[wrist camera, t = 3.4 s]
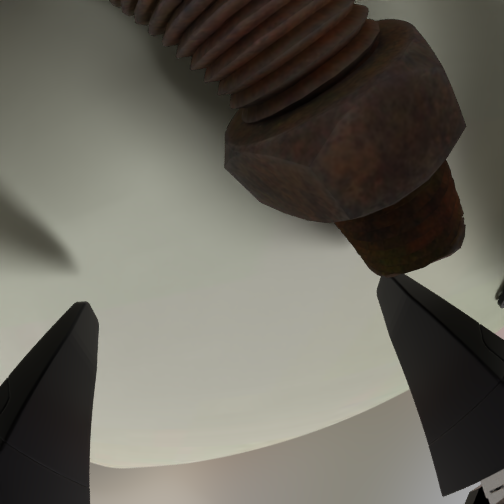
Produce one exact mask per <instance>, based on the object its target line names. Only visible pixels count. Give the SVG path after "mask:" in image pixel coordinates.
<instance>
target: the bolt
mask: <svg viewBox="0 0 504 504" xmlns="http://www.w3.org/2000/svg"><path fill="white" fill-rule="evenodd" d="M109 1H110V2H111V3H112V4H113V5H114V6H116V7H122V12H123V13H124V14H126V15H128V16H132V15H134V16H135V23H137V24H140V25H149V28H148V33H149V34H151V35H153V36H156V35H160V34H164V36H163V39H162V43H163V46H164V47H169V46H173V45H178V49H177V53H176V57H177V58H183V57H189V56H192V61H191V65H190V69H191V70H197V69H203V68H206V72H205V77H204V82H205V83H206V82H213V81H220V82H219V87H218V93H217V94H218V95H225V94H231V99H230V105H229V106H230V107H231V108H232V109H235V108H239V109H238V111H237V112H236V114H235V116H234V117H233V119H232V120H231V122H230V123H229V125H228V127H227V130H226V133H225V161H224V168H225V169H226V170H227V171H228V172H229V173H230V174H231V175H233V176H234V177H235V178H236V179H237V180H238V181H239V182H240V183H241V184H242V185H243V186H244V187H245V188H246V189H247V190H248V191H249V192H250V193H251V194H252V195H253V196H254V197H255V198H256V199H258V200H259V201H260V202H261V203H263V204H265V205H268V206H270V207H272V208H274V209H277V210H279V211H281V212H283V213H286V214H289V215H292V216H296V217H299V218H302V219H305V220H309V221H317V222H324V223H333V222H334V224H335V225H336V226H337V227H338V228H339V229H340V230H341V232H342V233H343V234H344V236H345V237H346V238H347V240H348V241H349V242H350V243H351V244H352V245H353V247H354V248H355V249H356V251H357V253H358V254H359V255H360V256H361V258H362V259H363V260H364V262H365V263H366V265H367V266H368V268H369V269H370V270H371V271H373V272H374V273H375V274H377V275H379V276H384V277H385V278H389V277H395V276H397V275H400V274H405V273H408V272H411V271H414V270H417V269H420V268H424V267H426V266H427V265H429V264H430V263H433V262H435V261H438V260H441V259H443V258H446V257H448V256H451V255H452V254H453V253H455V252H456V251H457V250H459V249H460V248H461V246H462V243H463V240H464V237H465V226H466V225H464V217H462V216H463V214H464V213H463V210H462V207H461V204H460V199H459V196H458V194H457V191H456V189H455V184H454V180H453V178H452V175H451V170H450V168H449V165H448V163H447V161H446V158H447V157H448V155H449V154H450V152H451V151H452V149H453V147H454V146H455V144H456V142H457V141H458V139H459V138H460V136H461V134H462V133H463V131H464V129H465V127H466V124H465V121H464V118H463V115H462V113H461V110H460V107H459V104H458V102H457V99H456V97H455V94H454V92H453V89H452V87H451V84H450V82H449V80H448V77H447V75H446V73H445V71H444V68H443V66H442V65H441V63H440V61H439V60H438V58H437V57H436V55H435V53H434V52H433V50H432V49H431V47H430V46H429V44H428V43H427V41H426V40H425V39H424V38H423V36H422V35H421V34H420V33H419V32H418V30H417V29H416V28H415V27H414V26H413V25H412V24H410V23H408V22H406V21H402V20H395V19H385V20H379V21H374V20H371V19H367V15H368V12H369V11H368V8H367V7H366V6H363V5H358V4H354V1H355V0H109Z"/></svg>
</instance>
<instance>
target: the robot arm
mask: <svg viewBox="0 0 504 504" xmlns="http://www.w3.org/2000/svg"><path fill="white" fill-rule="evenodd" d="M377 297H378V300H379V304H380V307H381V310H382V313H383V316H384V320H385V323H386V326H387V330H388V333H389V336H390V339H391V341H392V344H393V346H394V349H395V351H396V354H397V356H398V359H399V361H400V364H401V367H402V369H403V372H404V374H405V377H406V380H407V382H408V385H409V388H410V391H411V393H412V396H413V399H414V402H415V405H416V407H417V411H418V414H419V417H420V419H421V422H422V425H423V429H424V432H425V435H426V438H427V442H428V445H429V449H430V452H431V456H432V459H433V463H434V466H435V470H436V473H437V478H438V481H439V485H440V489H441V493H442V496H446V495H449V494H451V493H454V492H456V491H459V490H461V489H464V488H466V487H468V486H470V485H473V484H475V483H477V482H479V481H481V485H480V486H478V487H477V488H475V489H474V490H472V491H471V492H469V495H468V497H467V500H466V502H465V504H504V340H503V339H501V338H500V337H499V336H497V335H496V334H494V333H493V332H491V331H490V330H488V329H487V328H485V327H484V326H483V325H481V324H480V325H479V323H478V322H477V321H475V320H474V319H472V318H471V317H469V316H468V315H467V314H465V313H464V312H462V311H461V310H459V309H458V308H456V307H455V306H453V305H452V304H450V303H449V302H447V301H446V300H444V299H443V298H441V297H440V296H438V295H436V294H435V293H433V292H432V291H430V290H429V289H427V288H426V287H424V286H422V285H421V284H419V283H418V282H416V281H415V280H413V279H411V278H410V277H408V276H407V275H405V274H400V275H397V276H395V277H389V278H385V277H384V276H381V278H380V281H379V284H378V288H377ZM498 305H499V306H500V307H501V308H504V291H503V293H502V295H501V296H500V298H499V300H498ZM98 333H99V323H98V319H97V317H96V315H95V313H94V312H93V310H92V308H91V306H90V304H89V303H88V302H86V301H84V302H76V303H74V304H73V305H72V306H71V307H70V308H69V309H68V310H67V311H66V313H65V314H64V315H63V316H62V317H61V318H60V319H59V320H58V321H57V322H56V323H55V324H54V325H53V326H52V327H51V328H50V329H49V331H48V332H47V333H46V334H45V335H44V336H43V337H42V338H41V339H40V340H39V341H38V343H37V344H36V345H35V346H34V347H33V348H32V349H31V350H30V352H29V353H28V354H27V355H26V356H25V357H24V358H23V360H22V361H21V362H20V363H19V364H18V365H17V367H16V368H15V369H14V370H13V371H12V372H11V374H10V375H9V376H8V378H6V380H5V381H4V382H3V383H2V385H1V386H0V504H90V489H89V463H90V436H91V421H92V409H93V398H94V389H95V381H96V372H97V352H98Z"/></svg>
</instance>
